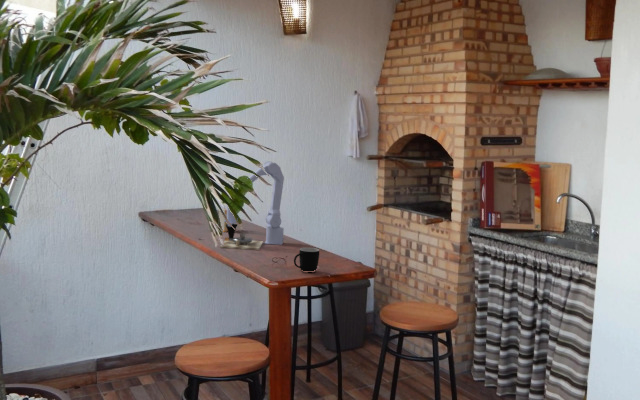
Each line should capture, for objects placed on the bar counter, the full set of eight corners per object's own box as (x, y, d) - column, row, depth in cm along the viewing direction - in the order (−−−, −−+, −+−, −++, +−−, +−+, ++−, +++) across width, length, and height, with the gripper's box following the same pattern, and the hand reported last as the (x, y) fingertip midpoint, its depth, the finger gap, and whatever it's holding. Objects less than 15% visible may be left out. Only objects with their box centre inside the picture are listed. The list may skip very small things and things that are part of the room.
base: (263, 242, 372) (263, 231, 371) (258, 250, 352) (259, 238, 351) (226, 240, 372) (226, 229, 372) (219, 247, 353) (220, 236, 352)
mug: (312, 268, 316) (313, 247, 314) (321, 273, 308) (323, 250, 307) (289, 270, 310) (290, 248, 309) (298, 274, 302) (299, 252, 301)
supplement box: (224, 232, 399) (225, 209, 397) (218, 231, 401) (219, 208, 400) (234, 230, 405) (235, 208, 403) (228, 229, 408) (229, 207, 406)
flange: (252, 240, 367) (253, 237, 367) (250, 243, 357) (250, 240, 357) (226, 238, 367) (226, 236, 367) (223, 241, 357) (223, 239, 357)
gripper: (226, 210, 371) (225, 235, 372) (222, 214, 356) (221, 239, 358) (239, 211, 370) (238, 235, 372) (235, 214, 356) (234, 240, 358)
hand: (231, 237), depth 365 cm, fingers closed
